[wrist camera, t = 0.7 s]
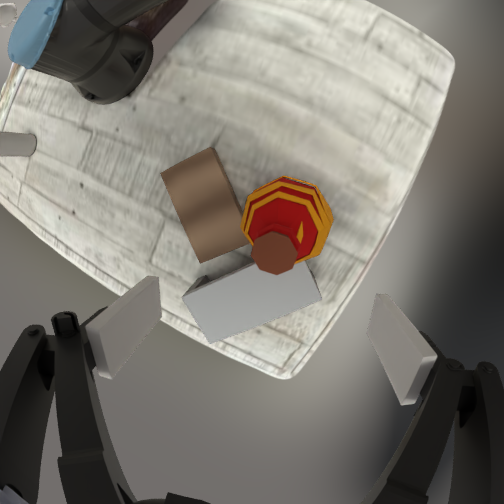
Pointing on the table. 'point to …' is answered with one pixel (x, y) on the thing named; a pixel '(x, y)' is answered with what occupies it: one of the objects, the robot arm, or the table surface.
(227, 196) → the panel
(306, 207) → the potion bottle
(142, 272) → the table surface
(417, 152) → the table surface
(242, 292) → the shelf
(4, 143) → the beverage can
